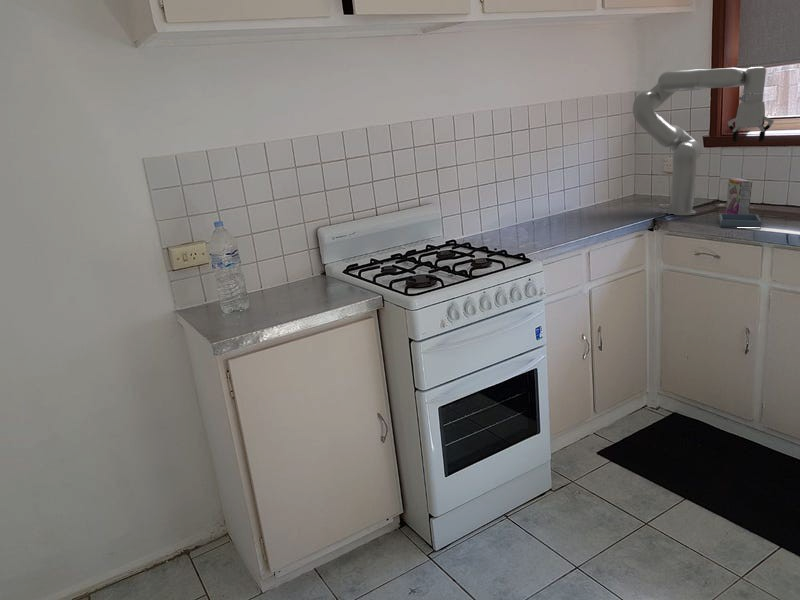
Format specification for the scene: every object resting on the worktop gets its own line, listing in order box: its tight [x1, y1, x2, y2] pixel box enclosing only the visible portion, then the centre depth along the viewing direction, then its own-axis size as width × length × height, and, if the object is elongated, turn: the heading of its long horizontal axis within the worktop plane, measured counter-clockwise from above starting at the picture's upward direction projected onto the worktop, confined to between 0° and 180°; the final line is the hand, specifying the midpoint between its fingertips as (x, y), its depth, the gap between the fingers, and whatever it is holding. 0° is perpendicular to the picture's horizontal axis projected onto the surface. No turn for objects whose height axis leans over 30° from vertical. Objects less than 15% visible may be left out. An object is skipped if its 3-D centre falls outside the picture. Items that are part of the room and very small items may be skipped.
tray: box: [718, 213, 762, 229], centre depth 260 cm, size 14×16×3 cm
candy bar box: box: [724, 177, 753, 215], centre depth 272 cm, size 11×5×16 cm, turn 179°
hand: (748, 141), depth 267 cm, fingers open, 9 cm apart
